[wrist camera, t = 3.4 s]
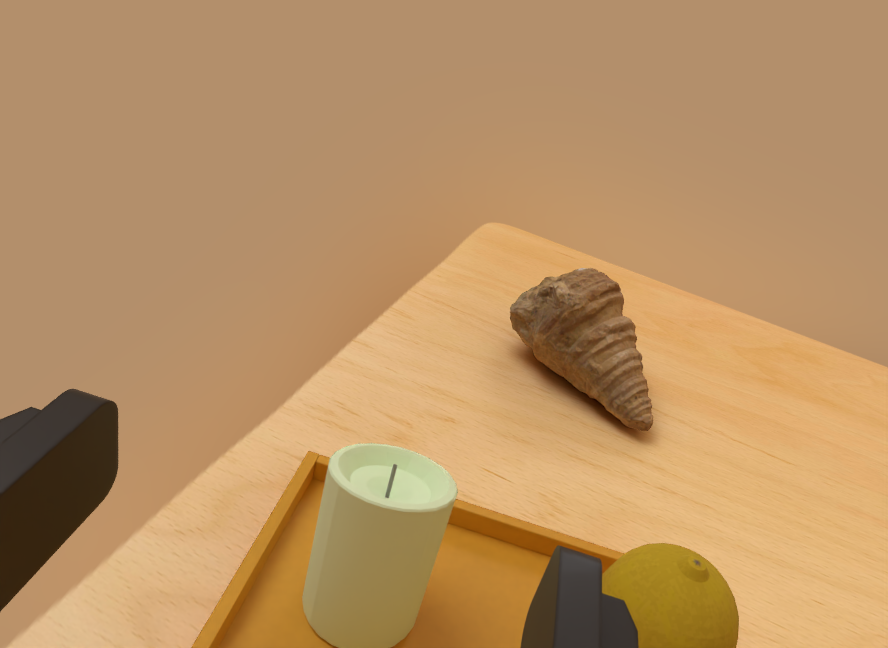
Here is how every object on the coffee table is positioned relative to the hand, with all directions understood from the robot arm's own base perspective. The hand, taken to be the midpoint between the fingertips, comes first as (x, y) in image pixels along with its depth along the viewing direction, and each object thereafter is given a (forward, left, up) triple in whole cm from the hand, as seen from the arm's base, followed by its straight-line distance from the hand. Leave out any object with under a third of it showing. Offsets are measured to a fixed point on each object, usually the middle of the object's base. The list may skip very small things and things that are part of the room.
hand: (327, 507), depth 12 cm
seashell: (+8, +36, -17) cm, 41 cm away
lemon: (+11, +11, -17) cm, 23 cm away
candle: (0, +11, -17) cm, 20 cm away
